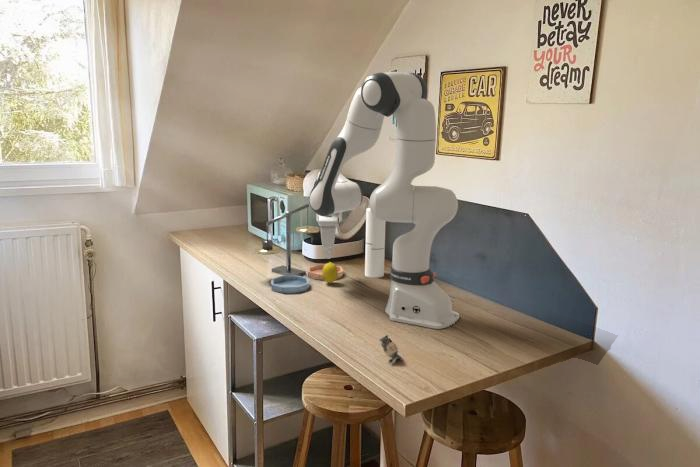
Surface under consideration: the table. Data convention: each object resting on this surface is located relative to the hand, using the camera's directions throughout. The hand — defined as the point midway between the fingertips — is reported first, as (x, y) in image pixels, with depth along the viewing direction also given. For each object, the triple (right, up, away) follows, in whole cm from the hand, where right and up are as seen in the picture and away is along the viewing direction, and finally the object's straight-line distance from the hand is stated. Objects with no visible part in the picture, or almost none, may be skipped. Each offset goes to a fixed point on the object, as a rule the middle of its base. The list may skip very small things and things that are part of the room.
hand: (329, 254), depth 191 cm
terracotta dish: (-2, -8, +12) cm, 15 cm away
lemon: (0, -11, +2) cm, 11 cm away
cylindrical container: (+17, -9, +13) cm, 23 cm away
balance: (-16, -8, +14) cm, 22 cm away
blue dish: (-13, -11, -3) cm, 18 cm away
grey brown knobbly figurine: (+17, -24, -55) cm, 63 cm away
